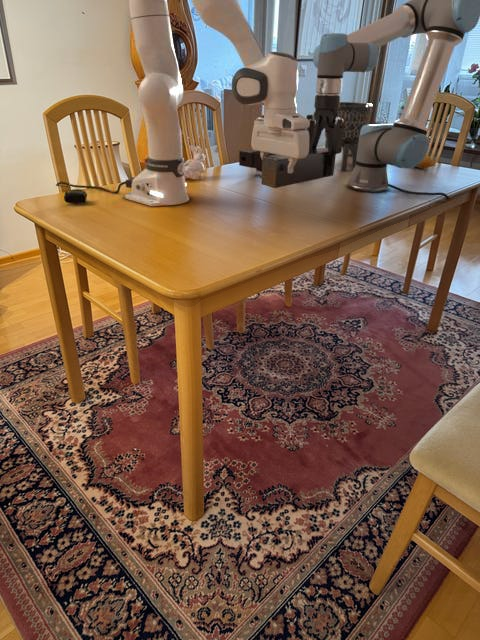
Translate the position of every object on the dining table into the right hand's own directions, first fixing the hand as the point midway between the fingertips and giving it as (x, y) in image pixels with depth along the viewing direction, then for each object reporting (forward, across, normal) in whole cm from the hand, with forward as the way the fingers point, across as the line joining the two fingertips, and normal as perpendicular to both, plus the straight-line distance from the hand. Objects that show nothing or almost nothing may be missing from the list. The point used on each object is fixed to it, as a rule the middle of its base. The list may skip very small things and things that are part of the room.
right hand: (319, 173), depth 147 cm
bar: (0, 0, -10) cm, 10 cm away
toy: (+11, -14, +91) cm, 93 cm away
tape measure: (+11, -52, -61) cm, 81 cm away
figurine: (+11, -58, -9) cm, 60 cm away
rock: (+11, -51, +92) cm, 106 cm away
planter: (+11, -37, +60) cm, 71 cm away
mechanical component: (+11, -44, +27) cm, 53 cm away
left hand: (-4, 0, -20) cm, 20 cm away
